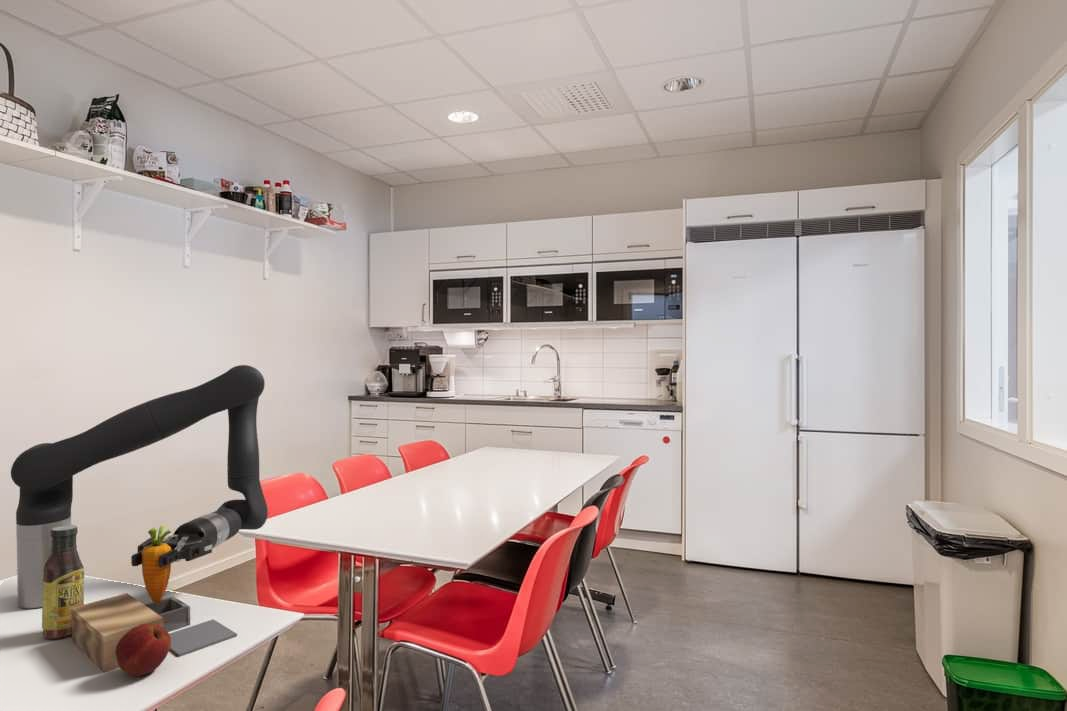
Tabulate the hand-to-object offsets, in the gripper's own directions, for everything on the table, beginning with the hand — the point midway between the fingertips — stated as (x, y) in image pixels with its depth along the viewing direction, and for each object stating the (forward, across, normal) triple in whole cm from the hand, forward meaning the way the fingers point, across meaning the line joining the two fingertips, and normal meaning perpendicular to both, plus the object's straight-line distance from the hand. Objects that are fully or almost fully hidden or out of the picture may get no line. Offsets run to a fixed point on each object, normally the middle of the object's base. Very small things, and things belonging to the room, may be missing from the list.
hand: (147, 561), depth 118 cm
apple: (+14, +10, +14) cm, 22 cm away
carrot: (-3, 0, +9) cm, 10 cm away
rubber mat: (+2, +11, +13) cm, 17 cm away
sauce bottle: (+1, -16, +14) cm, 21 cm away
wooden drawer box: (+2, 0, +13) cm, 14 cm away
